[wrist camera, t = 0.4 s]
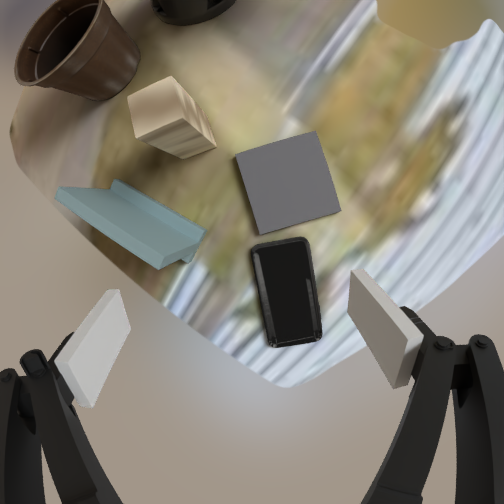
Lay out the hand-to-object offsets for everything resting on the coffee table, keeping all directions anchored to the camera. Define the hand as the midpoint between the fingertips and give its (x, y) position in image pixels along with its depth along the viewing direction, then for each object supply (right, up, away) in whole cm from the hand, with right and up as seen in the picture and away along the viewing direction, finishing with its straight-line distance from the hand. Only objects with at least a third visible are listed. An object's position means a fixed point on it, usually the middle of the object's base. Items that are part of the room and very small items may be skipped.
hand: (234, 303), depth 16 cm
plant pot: (-23, +34, +22) cm, 46 cm away
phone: (+6, -3, +24) cm, 25 cm away
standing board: (-13, +8, +24) cm, 29 cm away
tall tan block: (-7, +19, +22) cm, 30 cm away
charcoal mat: (+6, +12, +22) cm, 25 cm away
